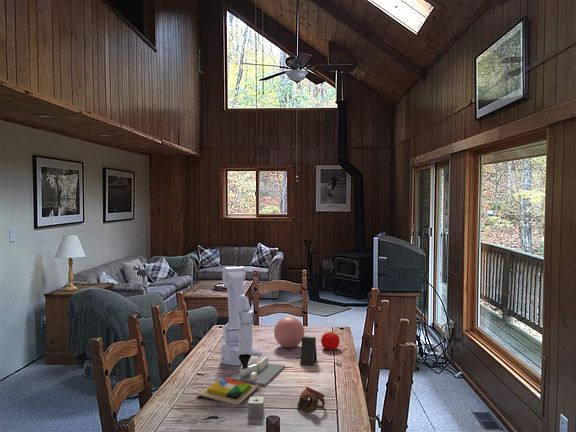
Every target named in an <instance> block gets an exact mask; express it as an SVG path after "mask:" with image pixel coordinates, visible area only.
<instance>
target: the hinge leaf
mask: <svg viewBox="0 0 576 432" xmlns="http://www.w3.org/2000/svg"><path fill="white" fill-rule="evenodd" d="M257 369H259V366H257V364H254V365H251V366H248V367H246V368H243V369H242V368H240V369H239V371H240V378H242V377H245V376H248V375H250V374H251V373H252V372H257Z"/></svg>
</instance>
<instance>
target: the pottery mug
mask: <svg viewBox="0 0 576 432" xmlns="http://www.w3.org/2000/svg"><path fill="white" fill-rule="evenodd" d="M319 402H320V403H322V405H321V407H322V408H324V407H325V404H326V403H325V402H326V401H325V394H324V393H322V392H320V391H317V390H315V389H313V388H311V387H308V386H306V387H305V389H304V390H303V391H302V392H301V393H300V396H299V400H298V401H297V407H296V409H297V410H299V411H300V412H302V413H304V414H308V410H309V412H311V413H313V412H315V411H316V409H317V406H318V405H319Z"/></svg>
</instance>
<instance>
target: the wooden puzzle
mask: <svg viewBox="0 0 576 432" xmlns="http://www.w3.org/2000/svg"><path fill="white" fill-rule="evenodd" d="M230 378H231V377H226V376H223V377H220V378H218V379H216V380H215V381H214V382H213V383H211V384H209V386H207V387H206V388H204V389H203V390H201V391H200V392H199V393H198V394H197V395H196V397H197V398H199V397H204V398H207V399H211V400H215V401H218V402H222V403H225V402H226V404H230V403H232V404H231V405H236V404H238V405H240V404H241V403H243V402H244V401H245V400H246V399H247V398H248V397H249V396H250V395H251V394H253V392H254V391H255V390H257V389H258V388H259V385H258V384H257V385H253V384H249V383H245V382H241V381H236V380H233V379H230ZM238 405H237V406H238Z"/></svg>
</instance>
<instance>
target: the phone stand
mask: <svg viewBox="0 0 576 432" xmlns="http://www.w3.org/2000/svg"><path fill="white" fill-rule="evenodd" d="M316 340H317V339H316V336H305V335H304V336H303V337H302V341H301V347H300V348H301V350H300V361H299V362H300V363H299V365H300V366H303V367H304V366H305V367H314V366H315V364H316V362H317V360H318V355H317V345H316V343H317V341H316Z"/></svg>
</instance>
